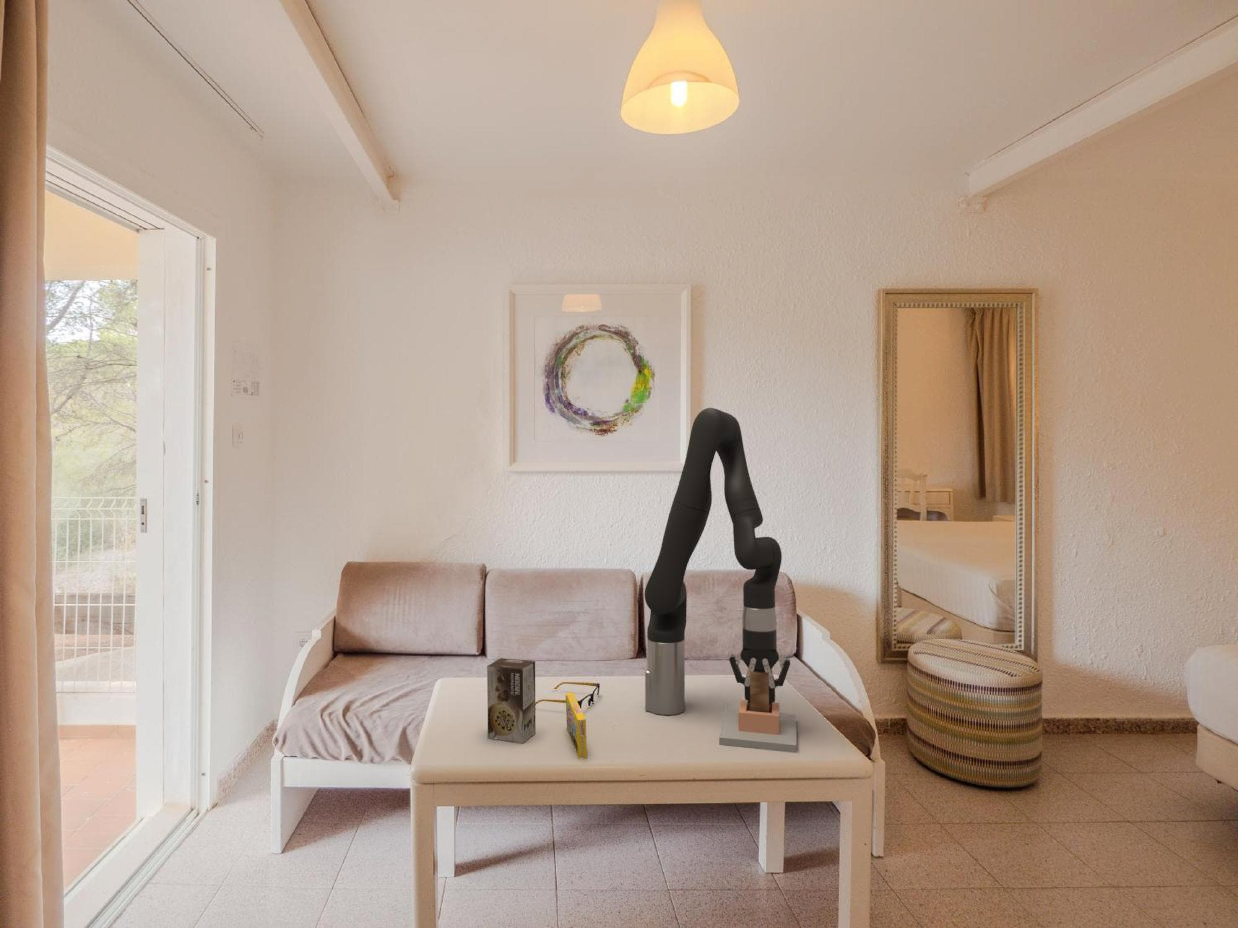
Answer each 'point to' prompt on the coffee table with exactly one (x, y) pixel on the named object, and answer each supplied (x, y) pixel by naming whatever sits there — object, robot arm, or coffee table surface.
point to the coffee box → (511, 699)
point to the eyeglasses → (580, 700)
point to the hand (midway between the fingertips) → (760, 702)
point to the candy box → (576, 725)
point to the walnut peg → (759, 691)
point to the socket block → (759, 728)
